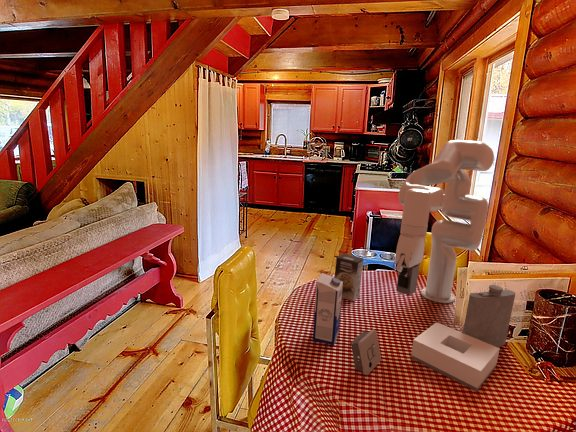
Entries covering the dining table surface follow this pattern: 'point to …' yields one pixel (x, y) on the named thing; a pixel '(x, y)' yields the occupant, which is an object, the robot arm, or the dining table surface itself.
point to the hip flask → (489, 315)
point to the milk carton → (327, 309)
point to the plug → (410, 281)
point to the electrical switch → (366, 351)
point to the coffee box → (349, 275)
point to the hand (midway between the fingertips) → (407, 284)
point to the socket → (455, 355)
